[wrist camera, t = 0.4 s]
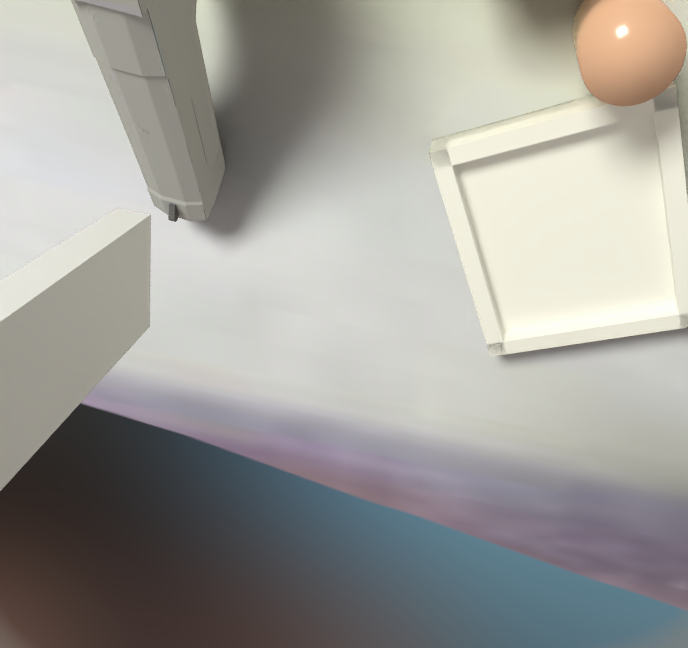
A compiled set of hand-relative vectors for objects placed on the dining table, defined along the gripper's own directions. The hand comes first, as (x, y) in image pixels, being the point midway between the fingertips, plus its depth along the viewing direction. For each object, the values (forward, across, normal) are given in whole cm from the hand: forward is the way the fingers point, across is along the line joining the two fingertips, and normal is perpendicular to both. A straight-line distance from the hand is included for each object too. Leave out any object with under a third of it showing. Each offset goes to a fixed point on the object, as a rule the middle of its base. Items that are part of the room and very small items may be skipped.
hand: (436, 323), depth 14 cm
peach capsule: (+23, +7, +7) cm, 25 cm away
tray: (+25, +8, -4) cm, 27 cm away
